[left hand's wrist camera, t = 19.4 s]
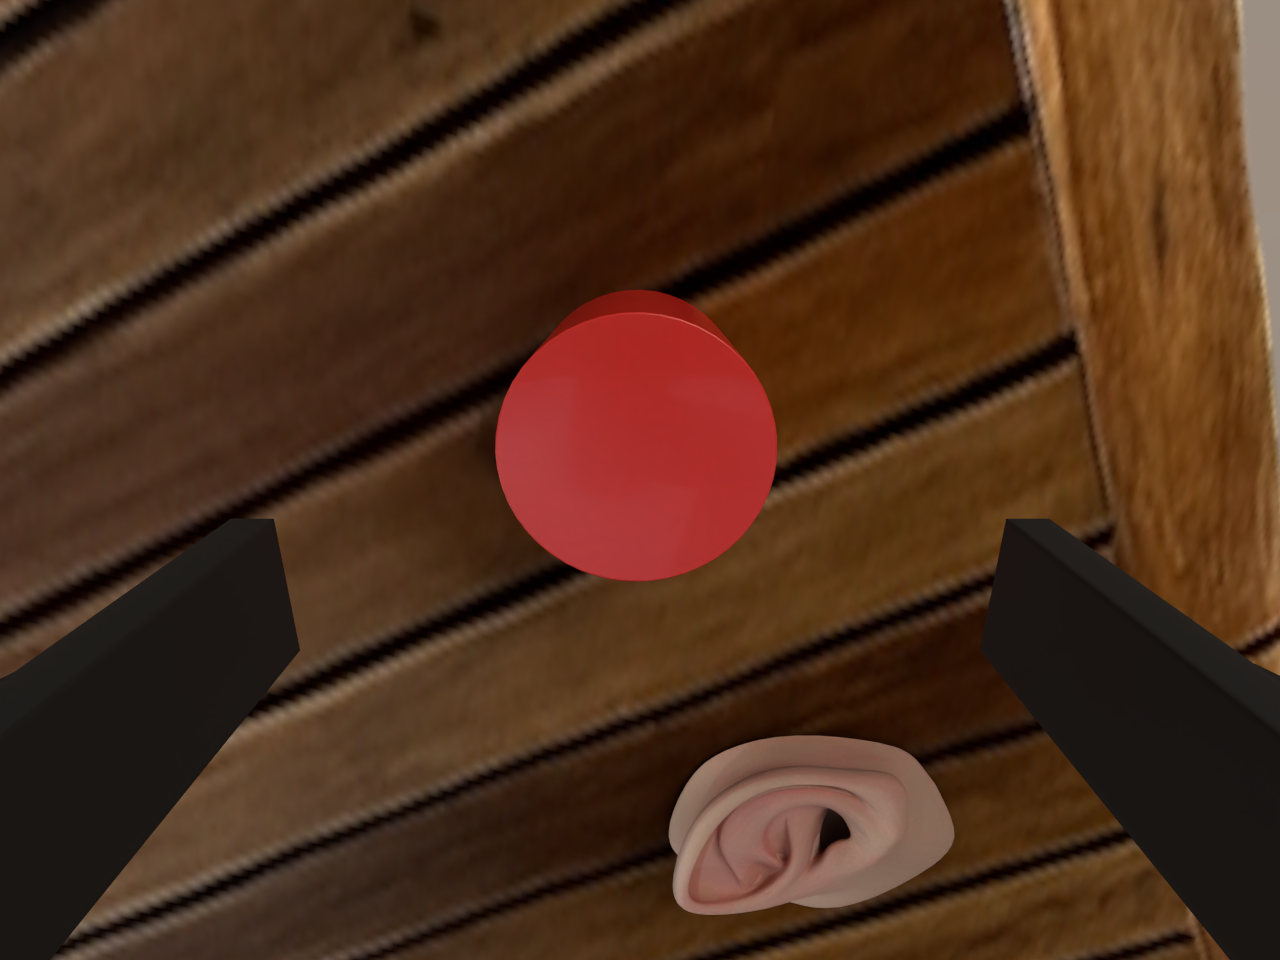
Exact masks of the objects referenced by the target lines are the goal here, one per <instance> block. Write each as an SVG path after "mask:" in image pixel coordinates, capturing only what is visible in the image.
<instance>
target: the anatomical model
mask: <svg viewBox="0 0 1280 960" xmlns="http://www.w3.org/2000/svg"><path fill="white" fill-rule="evenodd" d="M669 839H670V844H671V846H672V848H673V850H674V851H675V852H676V854H677V855H678V857H677V861H676V866H675V870H674V876H673V892H674V896H675V899H676V901H677V903H678V904H679V905H680V906H681V907H682V908H683V909H685V910H687V911H689V912H692V913H696V914H706V915H718V914H733V913H743V912H750V911H755V910H761V909H766V908H770V907H774V906H777V905H781V904H784V903H788V902H792V903H796V904H800V905H803V906H809V907H817V908H832V907H842V906H846V905H851V904H855V903H858V902H861V901H864V900H867V899H870V898H873V897H875V896H878V895H880V894H882V893H884V892H887V891H889V890H891V889H893V888H895V887H897V886H899V885H901V884H902V883H904V882H906V881H908V880H910V879H911V878H913V877H915V876H917V875H918V874H920V873H921V872H923V871H924V870H926V869H927V868H929V867H931V866H932V865H934V864H935V863H936V862H937V861H939V860H940V859H941V858H942V857H943V856H944V855H945V854H946V853H947V852H948V850H949V848H950V847H951V845H952V843H953V840H954V827H953V823H952V820H951V817H950V814H949V812H948V810H947V807H946V805H945V803H944V801H943V799H942V797H941V795H940V792H939V791H938V789H937V787H936V785H935V783H934V782H933V781H932V779H931V778H930V777H929V775H928V774H927V773H926V771H925V770H924V769H923V767H922V766H921V765H920V764H919V762H918V761H917V760H916V759H915V758H914V757H912V756H911V755H910V754H908V753H907V752H905V751H903V750H901V749H899V748H897V747H893V746H890V745H886V744H882V743H877V742H872V741H866V740H858V739H850V738H842V737H831V736H783V737H773V738H767V739H762V740H757V741H753V742H749V743H745V744H742V745H739V746H736V747H733V748H731V749H728V750H726V751H724V752H722V753H720V754H718V755H716V756H714V757H713V758H711V759H710V760H708V761H707V762H705V763H704V764H703V765H702V766H701V767H700V768H699V769H698V770H697V771H696V772H695V773H694V774H693V776H692V777H691V778H690V780H689V781H688V783H687V784H686V786H685V788H684V790H683V791H682V793H681V795H680V797H679V799H678V801H677V804H676V806H675V808H674V811H673V814H672V818H671V821H670V827H669Z"/></svg>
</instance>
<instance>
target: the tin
mask: <svg viewBox="0 0 1280 960" xmlns="http://www.w3.org/2000/svg"><path fill="white" fill-rule="evenodd" d="M495 454H496V463H497V470H498V475H499V479H500V483H501V486H502V489H503V491H504V494H505V496H506V499H507V501H508V503H509V505H510V507H511V509H512V511H513V512H514V514H515V516H516V518H517V519H518V520H519V522H520V523H521V524H522V526H523V527H524V528H525V530H526V531H527V532H528V533H529V534H530V535H531V536H532V537H533V538H534V539H535V541H536V542H537V543H538V544H540V545H541V546H542V547H543V548H544V549H546V550H547V551H548V552H549V553H551V554H552V555H553V556H555V557H557V558H558V559H560V560H561V561H563V562H565V563H566V564H568V565H570V566H572V567H575V568H577V569H579V570H581V571H583V572H586V573H589V574H592V575H595V576H599V577H603V578H608V579H613V580H622V581H652V580H659V579H666V578H670V577H674V576H677V575H681V574H684V573H687V572H689V571H692V570H694V569H697V568H699V567H701V566H703V565H705V564H706V563H708V562H710V561H712V560H714V559H715V558H717V557H718V556H719V555H721V554H722V553H723V552H725V551H726V550H728V549H729V548H730V547H731V546H732V545H733V544H734V543H735V542H736V541H737V540H739V539H740V538H741V537H742V535H743V534H744V533H745V532H746V531H747V529H748V528H749V527H750V526H751V525H752V523H753V522H754V520H755V519H756V517H757V515H758V514H759V512H760V511H761V509H762V507H763V505H764V503H765V501H766V498H767V496H768V494H769V491H770V488H771V485H772V482H773V478H774V473H775V468H776V462H777V433H776V424H775V420H774V416H773V412H772V408H771V405H770V403H769V400H768V398H767V395H766V393H765V390H764V389H763V387H762V385H761V383H760V381H759V380H758V378H757V376H756V375H755V373H754V372H753V371H752V369H751V368H750V367H749V365H748V364H747V363H746V361H745V360H744V359H743V358H742V356H741V355H740V354H739V353H738V352H737V350H736V349H735V348H734V347H733V345H732V344H731V343H730V342H729V341H728V339H727V338H726V337H725V336H724V335H723V333H722V332H721V331H720V330H719V328H718V327H717V326H716V325H715V324H714V323H713V322H712V321H711V320H710V319H709V318H708V317H707V316H706V315H705V314H704V313H702V312H701V311H700V310H698V309H697V308H696V307H694V306H692V305H691V304H689V303H687V302H685V301H683V300H681V299H679V298H676V297H674V296H671V295H668V294H664V293H660V292H656V291H648V290H625V291H619V292H613V293H610V294H606V295H603V296H600V297H597V298H595V299H593V300H591V301H589V302H587V303H585V304H583V305H582V306H580V307H579V308H577V309H576V310H574V311H573V312H572V313H571V314H570V315H568V316H567V317H566V318H565V319H564V320H563V321H562V322H561V323H560V324H559V325H558V326H557V328H556V329H555V330H554V331H553V332H552V333H551V334H550V336H549V337H548V338H547V339H546V340H545V341H544V342H543V344H542V345H541V346H540V347H539V348H538V349H537V351H536V352H535V353H534V354H533V355H532V356H531V357H530V359H529V360H528V361H527V362H526V363H525V364H524V366H523V367H522V368H521V370H520V371H519V373H518V374H517V376H516V377H515V379H514V380H513V382H512V384H511V386H510V388H509V390H508V392H507V394H506V396H505V398H504V401H503V404H502V407H501V410H500V414H499V417H498V423H497V429H496V442H495Z"/></svg>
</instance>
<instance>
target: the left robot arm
mask: <svg viewBox="0 0 1280 960" xmlns="http://www.w3.org/2000/svg"><path fill="white" fill-rule="evenodd" d="M299 651H300V648H299V643H298V638H297V633H296V628H295V623H294V618H293V613H292V608H291V603H290V598H289V593H288V588H287V583H286V578H285V573H284V568H283V563H282V558H281V553H280V548H279V543H278V538H277V533H276V528H275V523H274V519H230V520H229V521H227V522H226V523H224V524H223V525H222V526H220V527H219V528H217V529H216V530H214V531H213V532H212V533H210V534H209V535H207V536H206V537H205V538H203V539H202V540H200V541H199V542H197V543H196V544H195V545H193V546H192V547H190V548H189V549H188V550H186V551H185V552H183V553H182V554H181V555H179V556H178V557H176V558H175V559H173V560H172V561H171V562H169V563H168V564H166V565H165V566H164V567H162V568H161V569H159V570H158V571H157V572H155V573H154V574H152V575H151V576H149V577H148V578H147V579H145V580H144V581H142V582H141V583H140V584H138V585H137V586H135V587H134V588H132V589H131V590H130V591H128V592H127V593H125V594H124V595H123V596H121V597H120V598H118V599H117V600H116V601H114V602H113V603H111V604H110V605H108V606H107V607H106V608H104V609H103V610H101V611H100V612H99V613H97V614H96V615H94V616H93V617H92V618H90V619H89V620H87V621H86V622H84V623H83V624H82V625H80V626H79V627H77V628H76V629H75V630H73V631H72V632H70V633H69V634H68V635H66V636H65V637H63V638H62V639H60V640H59V641H58V642H56V643H55V644H53V645H52V646H51V647H49V648H48V649H46V650H45V651H43V652H42V653H41V654H39V655H38V656H36V657H35V658H34V659H32V660H31V661H29V662H28V663H27V664H25V665H24V666H22V667H21V668H19V669H18V670H17V671H15V672H14V673H12V674H9V675H7V676H5V677H3V678H1V679H0V960H50V959H51V958H52V956H53V955H54V954H55V953H56V952H57V950H58V949H59V948H60V947H61V945H62V944H63V943H64V942H65V940H66V939H67V938H68V937H69V935H70V934H71V933H72V932H73V930H74V929H75V928H76V927H77V926H78V924H79V923H80V922H81V921H82V919H83V918H84V917H85V916H86V914H87V913H88V912H89V911H90V909H91V908H92V907H93V906H94V904H95V903H96V902H97V901H98V900H99V898H100V897H101V896H102V895H103V893H104V892H105V891H106V890H107V888H108V887H109V886H110V885H111V883H112V882H113V881H114V880H115V878H116V877H117V876H118V875H119V874H120V872H121V871H122V870H123V869H124V867H125V866H126V865H127V864H128V862H129V861H130V860H131V859H132V857H133V856H134V855H135V854H136V852H137V851H138V850H139V849H140V848H141V846H142V845H143V844H144V843H145V841H146V840H147V839H148V838H149V836H150V835H151V834H152V833H153V831H154V830H155V829H156V828H157V826H158V825H159V824H160V823H161V822H162V820H163V819H164V818H165V817H166V815H167V814H168V813H169V812H170V810H171V809H172V808H173V807H174V805H175V804H176V803H177V802H178V801H179V799H180V798H181V797H182V796H183V794H184V793H185V792H186V791H187V789H188V788H189V787H190V786H191V784H192V783H193V782H194V781H195V779H196V778H197V777H198V776H199V775H200V773H201V772H202V771H203V770H204V768H205V767H206V766H207V765H208V763H209V762H210V761H211V760H212V758H213V757H214V756H215V755H216V753H217V752H218V751H219V750H220V749H221V747H222V746H223V745H224V744H225V742H226V741H227V740H228V739H229V737H230V736H231V735H232V734H233V732H234V731H235V730H236V729H237V727H238V726H239V725H240V724H241V723H242V721H243V720H244V719H245V718H246V716H247V715H248V714H249V713H250V711H251V710H252V709H253V708H254V706H255V705H256V704H257V703H258V701H259V700H260V699H261V698H262V697H263V695H264V694H265V693H266V692H267V690H268V689H269V688H270V687H271V685H272V684H273V683H274V682H275V680H276V679H277V678H278V677H279V676H280V674H281V673H282V672H283V671H284V669H285V668H286V667H287V666H288V664H289V663H290V662H291V661H292V659H293V658H294V657H295V656H296V654H297V653H298V652H299ZM980 651H981V652H982V653H983V654H984V656H985V657H986V658H987V659H988V661H989V662H990V663H991V664H992V666H993V667H994V668H995V669H996V671H997V672H998V673H999V674H1000V676H1001V677H1002V678H1003V679H1004V680H1005V682H1006V683H1007V684H1008V685H1009V687H1010V688H1011V689H1012V690H1013V692H1014V693H1015V694H1016V695H1017V697H1018V698H1019V699H1020V700H1021V701H1022V703H1023V704H1024V705H1025V706H1026V708H1027V709H1028V710H1029V711H1030V713H1031V714H1032V715H1033V716H1034V718H1035V719H1036V720H1037V721H1038V723H1039V724H1040V725H1041V726H1042V727H1043V729H1044V730H1045V731H1046V732H1047V734H1048V735H1049V736H1050V737H1051V739H1052V740H1053V741H1054V742H1055V744H1056V745H1057V746H1058V747H1059V749H1060V750H1061V751H1062V752H1063V753H1064V755H1065V756H1066V757H1067V758H1068V760H1069V761H1070V762H1071V763H1072V765H1073V766H1074V767H1075V768H1076V770H1077V771H1078V772H1079V773H1080V775H1081V776H1082V777H1083V778H1084V779H1085V781H1086V782H1087V783H1088V784H1089V786H1090V787H1091V788H1092V789H1093V791H1094V792H1095V793H1096V794H1097V796H1098V797H1099V798H1100V799H1101V801H1102V802H1103V803H1104V804H1105V805H1106V807H1107V808H1108V809H1109V810H1110V812H1111V813H1112V814H1113V815H1114V817H1115V818H1116V819H1117V820H1118V822H1119V823H1120V824H1121V825H1122V827H1123V828H1124V829H1125V830H1126V831H1127V833H1128V834H1129V835H1130V836H1131V838H1132V839H1133V840H1134V841H1135V843H1136V844H1137V845H1138V846H1139V848H1140V849H1141V850H1142V851H1143V852H1144V854H1145V855H1146V856H1147V857H1148V859H1149V860H1150V861H1151V862H1152V864H1153V865H1154V866H1155V867H1156V869H1157V870H1158V871H1159V872H1160V874H1161V875H1162V876H1163V877H1164V878H1165V880H1166V881H1167V882H1168V883H1169V885H1170V886H1171V887H1172V888H1173V890H1174V891H1175V892H1176V893H1177V895H1178V896H1179V897H1180V898H1181V900H1182V901H1183V902H1184V903H1185V904H1186V906H1187V907H1188V908H1189V909H1190V911H1191V912H1192V913H1193V914H1194V916H1195V917H1196V918H1197V919H1198V921H1199V922H1200V923H1201V924H1202V926H1203V927H1204V928H1205V929H1206V930H1207V932H1208V933H1209V934H1210V935H1211V937H1212V938H1213V939H1214V940H1215V942H1216V943H1217V944H1218V945H1219V947H1220V948H1221V949H1222V950H1223V952H1224V953H1225V954H1226V955H1227V956H1228V958H1229V959H1230V960H1280V676H1279V675H1277V674H1275V673H1273V672H1271V671H1269V670H1267V669H1264V668H1262V667H1260V666H1258V665H1256V664H1253V663H1252V662H1251V661H1249V660H1248V659H1246V658H1245V657H1244V656H1242V655H1241V654H1239V653H1238V652H1237V651H1235V650H1234V649H1232V648H1231V647H1229V646H1228V645H1227V644H1225V643H1224V642H1222V641H1221V640H1220V639H1218V638H1217V637H1215V636H1214V635H1212V634H1211V633H1210V632H1208V631H1207V630H1205V629H1204V628H1203V627H1201V626H1200V625H1198V624H1197V623H1196V622H1194V621H1193V620H1191V619H1190V618H1188V617H1187V616H1186V615H1184V614H1183V613H1181V612H1180V611H1179V610H1177V609H1176V608H1174V607H1173V606H1172V605H1170V604H1169V603H1167V602H1166V601H1164V600H1163V599H1162V598H1160V597H1159V596H1157V595H1156V594H1155V593H1153V592H1152V591H1150V590H1149V589H1147V588H1146V587H1145V586H1143V585H1142V584H1140V583H1139V582H1138V581H1136V580H1135V579H1133V578H1132V577H1131V576H1129V575H1128V574H1126V573H1125V572H1123V571H1122V570H1121V569H1119V568H1118V567H1116V566H1115V565H1114V564H1112V563H1111V562H1109V561H1108V560H1107V559H1105V558H1104V557H1102V556H1101V555H1099V554H1098V553H1097V552H1095V551H1094V550H1092V549H1091V548H1090V547H1088V546H1087V545H1085V544H1084V543H1083V542H1081V541H1080V540H1078V539H1077V538H1075V537H1074V536H1073V535H1071V534H1070V533H1068V532H1067V531H1066V530H1064V529H1063V528H1061V527H1060V526H1058V525H1057V524H1056V523H1054V522H1053V521H1051V520H1050V519H1006V523H1005V528H1004V533H1003V538H1002V543H1001V548H1000V553H999V558H998V563H997V568H996V573H995V578H994V583H993V588H992V593H991V598H990V603H989V608H988V613H987V618H986V623H985V628H984V633H983V638H982V643H981V648H980Z"/></svg>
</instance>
